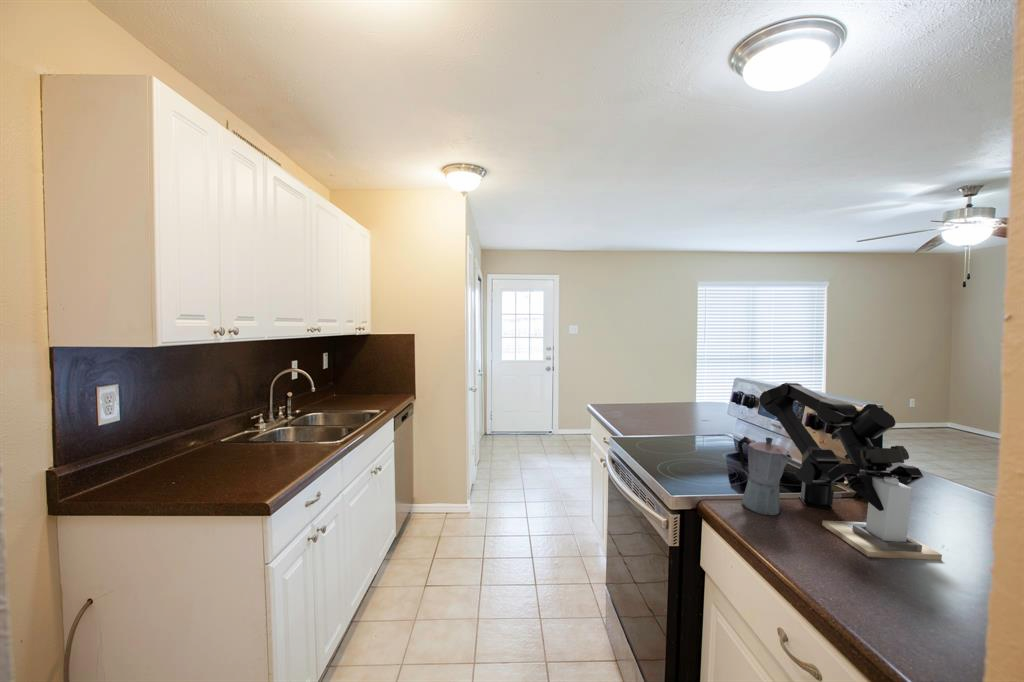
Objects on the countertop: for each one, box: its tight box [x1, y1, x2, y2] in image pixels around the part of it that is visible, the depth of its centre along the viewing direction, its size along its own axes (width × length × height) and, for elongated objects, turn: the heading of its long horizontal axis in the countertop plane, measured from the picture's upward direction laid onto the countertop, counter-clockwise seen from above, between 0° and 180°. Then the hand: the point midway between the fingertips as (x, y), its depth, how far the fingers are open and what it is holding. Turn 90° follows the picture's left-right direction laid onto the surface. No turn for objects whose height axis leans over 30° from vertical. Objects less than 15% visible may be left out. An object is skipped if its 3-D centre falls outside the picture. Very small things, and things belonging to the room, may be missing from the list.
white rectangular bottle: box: [866, 477, 913, 542], centre depth 97 cm, size 5×5×14 cm
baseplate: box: [821, 520, 943, 561], centre depth 99 cm, size 14×16×3 cm
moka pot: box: [737, 436, 793, 516], centre depth 115 cm, size 10×15×20 cm, turn 27°
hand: (893, 510), depth 96 cm, fingers closed on white rectangular bottle, 5 cm apart
